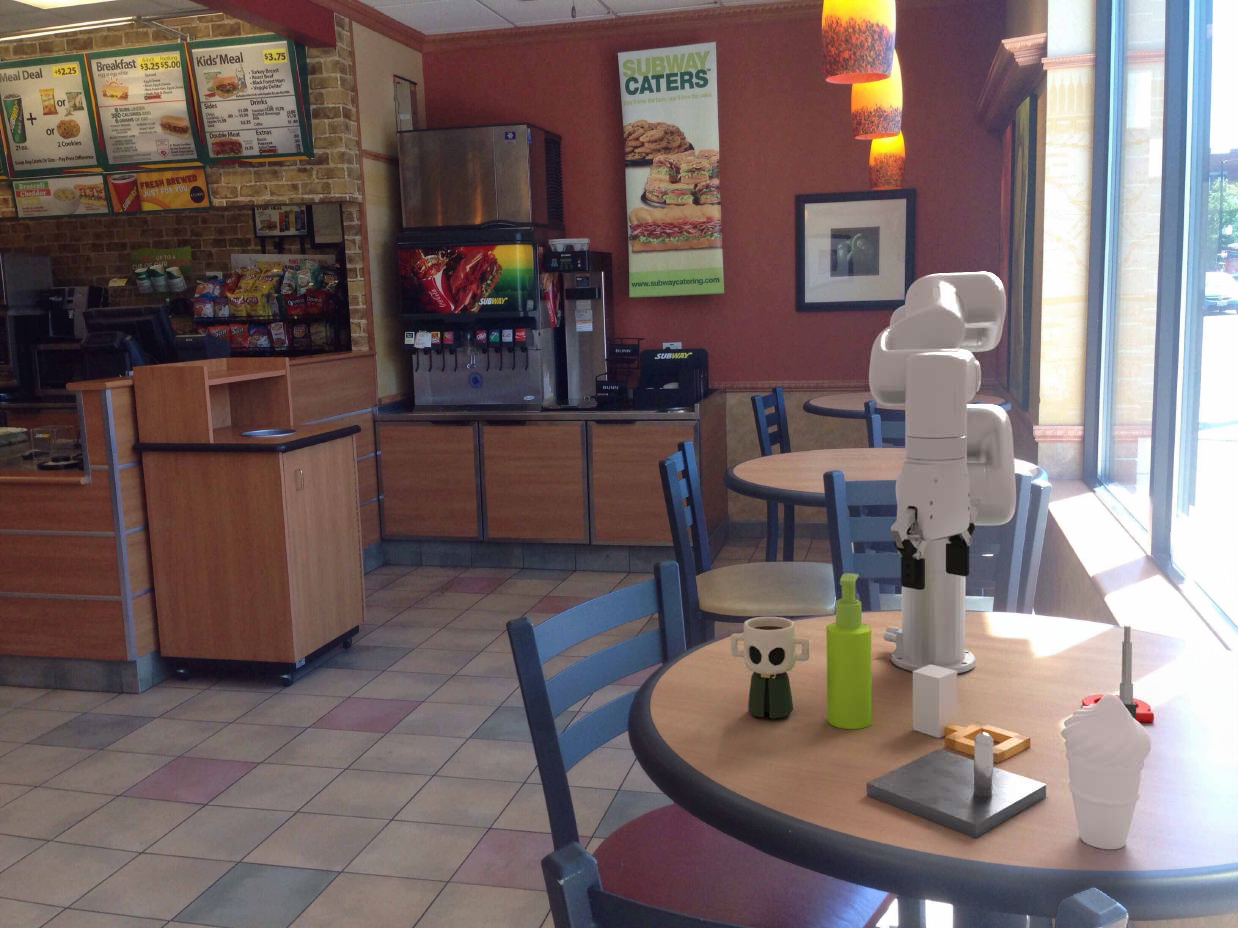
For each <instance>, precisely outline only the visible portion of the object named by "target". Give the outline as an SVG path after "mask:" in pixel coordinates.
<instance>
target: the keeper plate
mask: <svg viewBox="0 0 1238 928" xmlns="http://www.w3.org/2000/svg"><path fill="white" fill-rule="evenodd" d="M993 747H994V740H993V738H992V737H991V735H989V734H988V733H985V732H981V733H979V734H977V735H976V736H975V739H974V755H973V759H971V758H968V757H964V756H962V755H958V754H956V753H952V752H950V751H946V750H943V749H940V748H938V749H935V750H933V751H931V752H929V753H927V754H925V755H922V756H920V757H918V758H917V759H914V760H912V761H910V762H908V763H906V764H903V765H902V766H899V767H896V769H895V768H894V770H891V771H889V772H887V773H884V774H882V775H880V776H878V777H877V778H874V779H873V780H870V781H868V782H867V783H866V796H868V797H871V798H873V799H876V800H878V801H880V802H883V803H885V804H887V805H891V806H893V807H895V808H899V809H901V810H903V811H906V812H908V813H911V814H914V815H916V816H919V817H921V818H923V819H926V820H929V821H932V822H933V823H936V824H939V825H941V826H944V827H947V828H949V829H951V830H954V831H957V832H959V833H962V834H965V835H967V836H970V837H972V838H974V839H977V838H978V837H980V836H982V835H984V834H985V833H988V832H989V831H991V830H992V829H994V828H995V827H998V826H1000V825H1001V824H1003V823H1005V822H1006V821H1007V820H1010V819H1011V818H1012V817H1015V816H1016V815H1018V814H1019V813H1021V812H1023V811H1026V809H1028V808H1030V807H1032V806H1033V805H1035V804H1037V803H1038V802H1040V801H1042V800H1043V799H1045V798H1047V784H1046V783H1043V782H1041V781H1037V780H1036V779H1035V780H1034V779H1031V778H1029V777H1025V776H1023V775H1019V774H1017V773H1014V772H1010V771H1007V770H1004V769H1002V768H998V767H995V766H994V762H993Z"/></svg>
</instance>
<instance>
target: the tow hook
mask: <svg viewBox="0 0 1238 928" xmlns="http://www.w3.org/2000/svg"><path fill="white" fill-rule="evenodd" d="M1123 627H1124V628H1123V630H1124V631H1123V640H1122V641H1121V642H1122V643H1121V682H1120V683H1119V694H1114V695H1115V696H1117V697H1118V698H1119V699H1120V700H1121V701H1122V702H1123V704H1124V705H1125V707H1126V708H1127V709H1128V711H1129V712H1130V714H1131V715H1132V717H1133V718H1134V719H1135V720H1137V721H1138V722H1139V723H1154V721H1155V714H1154V712H1153V711H1152V709H1151V708H1152V707H1151V705H1150V704H1148V703H1147V702H1146V701H1144V700H1142V699H1139V698H1135V697H1134V684H1133V683H1132V674H1133V673H1132V672H1133V671H1132V670H1133V669H1132V668H1133V665H1132V664H1133V642H1132V641H1131V636H1132V635H1131V632H1132V631H1131V630H1132V627H1131V626H1130V625H1124V626H1123ZM1105 694H1106V693H1105ZM1105 694H1104V693H1103V694H1092V695H1088V696H1085V697H1084V698H1083V699H1082V702H1081V703H1082V707H1083V706H1089V705H1090V704H1096V703H1098V702H1099V701H1100V699H1101V698H1102V697H1103V696H1104V695H1105Z"/></svg>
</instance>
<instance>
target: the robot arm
mask: <svg viewBox="0 0 1238 928" xmlns="http://www.w3.org/2000/svg"><path fill="white" fill-rule="evenodd" d="M906 292H907V293H906V295H905V301H904V305H902V306H901V305H900V306H899V307H898V308H897V309H895V310H894V312H893V313H892V315H891V317H890V321H889V326H887V327H885V329H883V330H882V331H881V332H880V333H878V335H877V337H875V340H874V342H873V345H872V347H871V352H870V353H871V354H870V360H869V361H870V362H869V371H868V383H869V384H868V385H869V390H870V393H871V396H872V397H873V398H874V400H875V401H876V402H877V403H878V404H881V405H883V406H889V407H891V406H892V407H893V406H894V407H898V406H905V412H904V413H905V415H904V416H905V417H904V418H905V421H904V422H905V424H904V425H905V437H904V438H905V440H904V441H905V442H904V443H905V451H904V452H905V453H904V454H905V456H904V457H905V461H904V462H903V463H902V465H901V466H902V467H901V470H900V472H899V474H898V475H897V477H896V482H895V496H896V497H895V498H896V504H897V506H896V507H897V508H896V521H895V522H894V523H893V524H892V525H891V527H890V533H891V536H892V538H893V542H894V543H893V544H894V547H895V548H896V550H897V555H898V556H899V557H900V567H901V568H900V584H901V627H898V626H893V625H888V626H887V628H886V629H885V632H884V634H883V640H884V641H886V642H891V643H895V645H896V646H895V649H894V650H892V652H891V661H892V663H893V664H895V666H896V667H898V668H901V669H903V670H906V671H909V672H912V673H913V671H915V670H917V669H920V668H923V667H925V666H928V665H930V664H932V665H936V666H939V667H943V668H947V669H951V670H955V671H957V674H961V673H965V672H969V671H970V670H972V669H973V668H975V666H976V661H977V660H976V656H975V655H974V654H973V653H972V652H971V651H969V650H967V649H966V577H967V576H969V575H970V547H971V545H972V542H973V538H972V535H973V533H974V531H975V527H976V526H1001V525H1004V524H1007V523H1009V522H1010V521H1011V520H1012V518H1013V517H1014V514H1015V512H1016V507H1017V482H1016V472H1015V471H1016V470H1015V469H1016V468H1015V455H1014V454H1015V453H1014V452H1015V451H1014V439H1013V438H1014V437H1013V427H1012V423H1011V420H1010V417H1009V415H1008V413H1007V411H1006V410H1005V409H1004V408H1002V407H1001V406H999V405H995V404H988V403H987V404H986V403H985V404H984V403H983V404H982V403H979V404H978V403H976V404H975V403H973V404H972V403H971V404H969V402H971V400H973V398H974V397H975V396H976V393H978V392H979V391H980V388H981V382H982V381H981V379H982V369H981V364H980V362H979V360H977V359H976V356H975V355H974V354H973V353H978V352H979V353H980V352H988V351H992V350H993V349H995V348H996V347H997V346H998V345H999V343H1000V341H1001V339H1002V334H1003V329H1004V324H1005V323H1004V322H1005V319H1006V314H1007V295H1006V291H1005V288H1004V285H1003V283H1002V281H1001V280H1000V278H999V277H998V276H996V275H995V274H994V273H992V272H987V271H976V272H975V271H973V272H949V273H933V274H929V275H924V276H922V277H919V278H918V279H916V280H915V281H914V282H913V283H912V284H911V285H910V287H909V288H908V289H907V291H906Z"/></svg>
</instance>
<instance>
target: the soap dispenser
mask: <svg viewBox="0 0 1238 928" xmlns="http://www.w3.org/2000/svg"><path fill="white" fill-rule="evenodd" d="M859 577H860V576H859V573H848V572H847V573H845V572H844V573H842V575H841V577H840V579H839V585H840V586H841V598H840V599H837V600H836V601H835V622H833V623H829V624H828V625H826V628H825V629H826V635H825V636H826V697H827V698H826V699H827V700H826V701H827V702H826V705H827V715H826V716H827V722H828V723H829V724H830V725H832V726H833V727H836V728H840V729H845V730H858V729H864V728H867V727H869V726H870V725H872V721H873V718H872V716H873V715H872V713H873V711H872V709H873V707H872V706H873V701H872V697H873V696H872V690H873V689H872V679H873V678H872V627H871V626H870V625H868V624H866V623H862V622H863V621H862V619H863V618H862V602H861V601H860V600H858V599H857V598H856V588H855V587H856V582H857V579H858V578H859Z"/></svg>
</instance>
